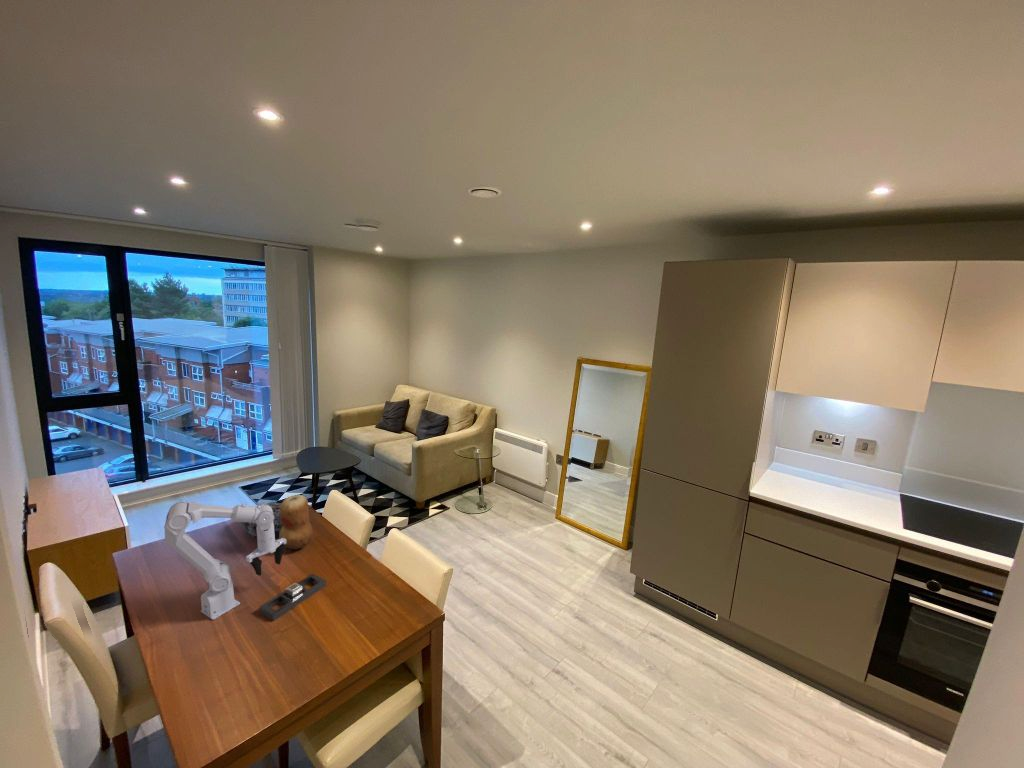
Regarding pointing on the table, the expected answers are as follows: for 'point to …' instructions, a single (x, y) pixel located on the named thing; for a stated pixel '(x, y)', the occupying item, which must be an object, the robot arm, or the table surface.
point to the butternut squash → (295, 522)
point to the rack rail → (289, 603)
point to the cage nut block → (293, 590)
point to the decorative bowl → (277, 522)
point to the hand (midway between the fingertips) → (268, 568)
